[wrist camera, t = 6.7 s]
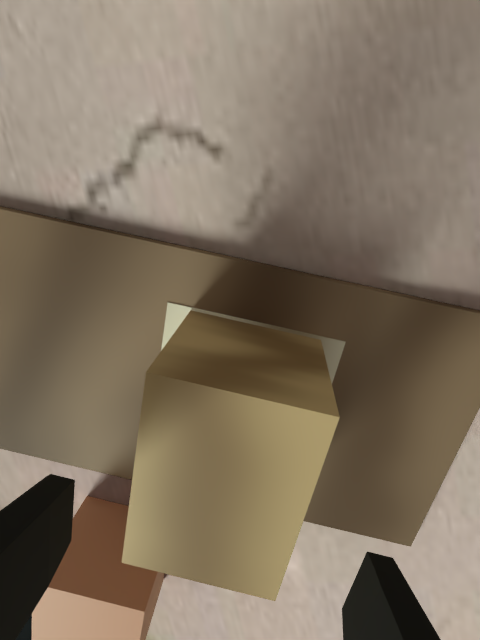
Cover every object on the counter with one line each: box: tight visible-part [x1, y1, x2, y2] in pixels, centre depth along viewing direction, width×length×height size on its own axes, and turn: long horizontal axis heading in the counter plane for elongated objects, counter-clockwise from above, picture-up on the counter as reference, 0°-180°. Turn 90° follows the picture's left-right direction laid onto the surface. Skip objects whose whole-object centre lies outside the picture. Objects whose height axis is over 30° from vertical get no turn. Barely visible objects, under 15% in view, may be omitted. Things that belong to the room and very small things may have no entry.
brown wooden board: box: [0, 206, 480, 546], centre depth 16 cm, size 20×11×1 cm, turn 79°
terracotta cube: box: [32, 496, 165, 640], centre depth 18 cm, size 4×4×4 cm
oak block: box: [122, 310, 340, 601], centre depth 13 cm, size 5×7×5 cm
